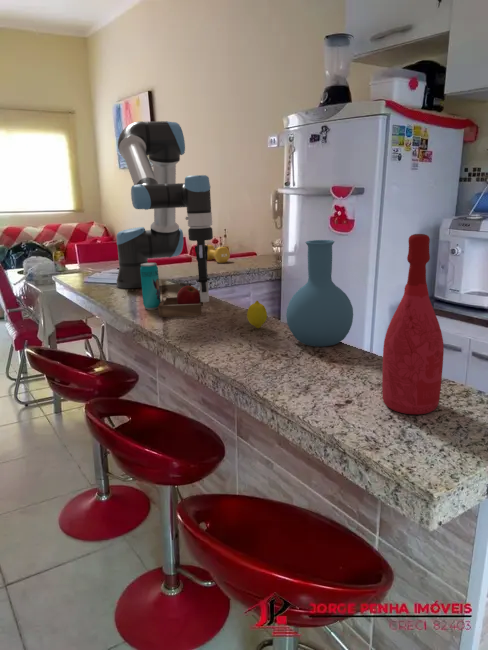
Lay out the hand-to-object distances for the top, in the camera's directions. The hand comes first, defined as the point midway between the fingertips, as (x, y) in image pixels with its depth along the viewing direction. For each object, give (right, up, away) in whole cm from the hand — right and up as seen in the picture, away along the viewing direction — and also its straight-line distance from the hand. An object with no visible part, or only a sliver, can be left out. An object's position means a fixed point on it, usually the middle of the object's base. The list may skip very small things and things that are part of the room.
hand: (204, 301), depth 163 cm
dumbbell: (-3, +26, +109) cm, 112 cm away
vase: (+32, -12, -35) cm, 49 cm away
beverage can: (-18, -2, +6) cm, 19 cm away
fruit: (+16, -9, -22) cm, 29 cm away
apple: (-5, -3, +2) cm, 6 cm away
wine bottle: (+42, -22, -73) cm, 87 cm away
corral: (-7, -3, +1) cm, 8 cm away
